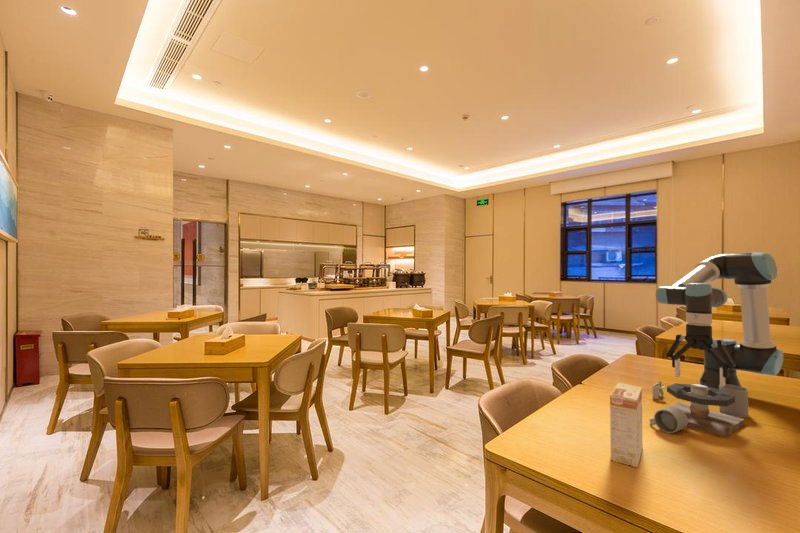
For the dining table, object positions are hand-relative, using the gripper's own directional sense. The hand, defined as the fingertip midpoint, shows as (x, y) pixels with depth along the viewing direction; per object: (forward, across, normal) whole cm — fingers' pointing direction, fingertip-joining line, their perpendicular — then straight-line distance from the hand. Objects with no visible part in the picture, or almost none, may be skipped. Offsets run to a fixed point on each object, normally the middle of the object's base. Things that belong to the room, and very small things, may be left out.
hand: (699, 381), depth 135 cm
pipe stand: (+15, 0, 0) cm, 15 cm away
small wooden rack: (+16, -20, +16) cm, 30 cm away
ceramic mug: (+15, -4, -18) cm, 24 cm away
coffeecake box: (+15, -2, -49) cm, 51 cm away
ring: (+6, 0, 0) cm, 6 cm away
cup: (+15, +4, +21) cm, 26 cm away
